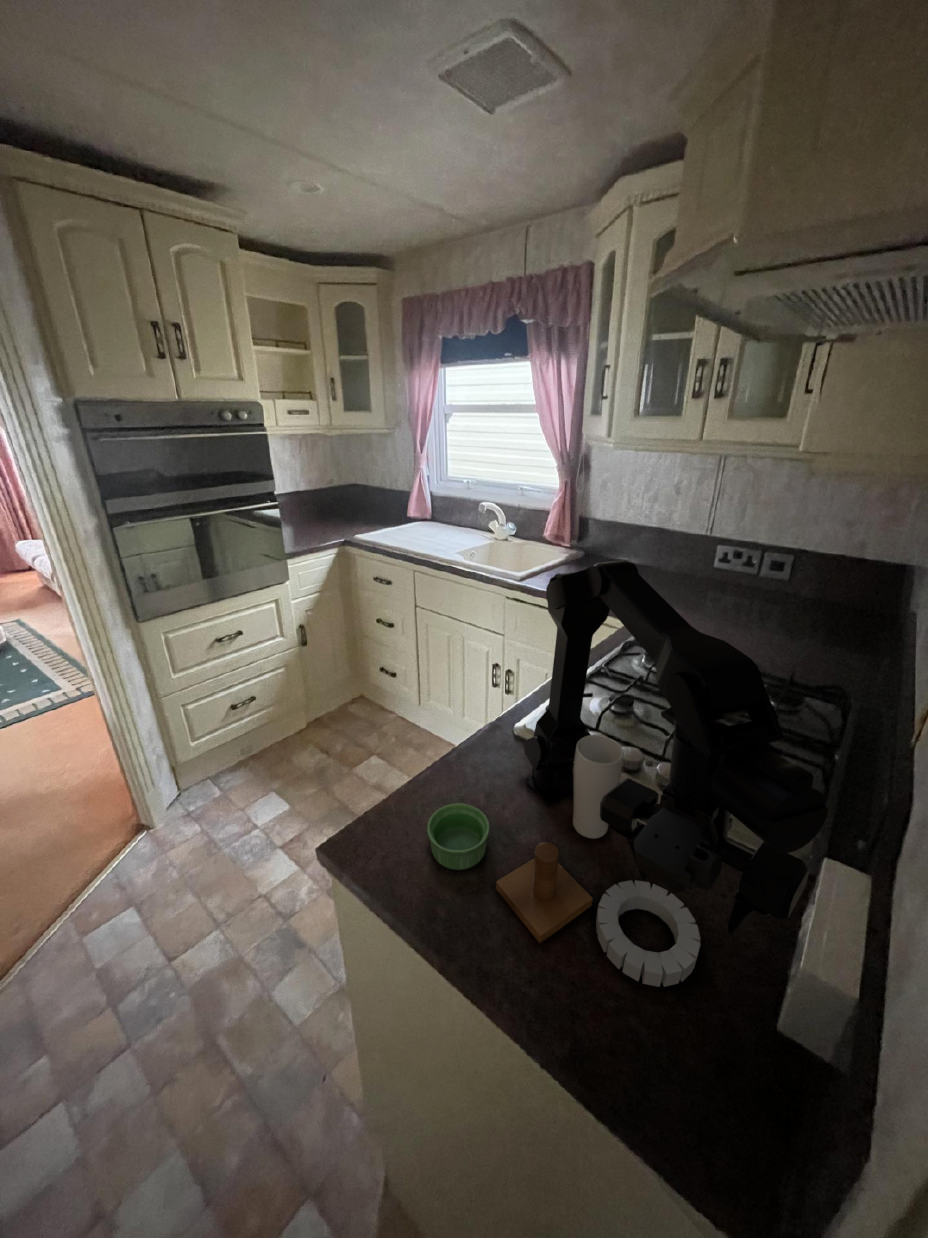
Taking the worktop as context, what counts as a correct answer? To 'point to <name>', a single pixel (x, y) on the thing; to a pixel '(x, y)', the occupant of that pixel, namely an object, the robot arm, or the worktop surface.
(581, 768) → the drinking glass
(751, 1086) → the worktop surface
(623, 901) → the segmented block ring
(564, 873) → the wooden peg stand
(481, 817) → the ramekin
